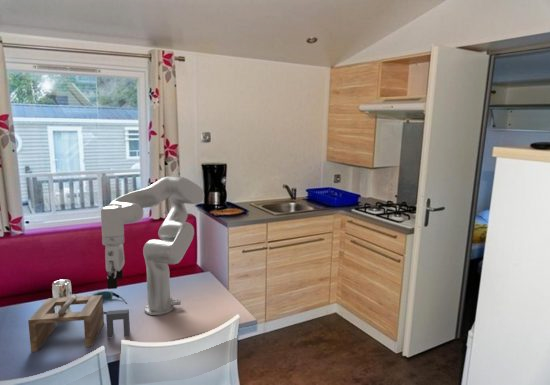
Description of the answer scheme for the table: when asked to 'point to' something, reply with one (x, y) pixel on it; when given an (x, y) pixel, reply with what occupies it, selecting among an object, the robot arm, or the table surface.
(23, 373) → the table surface
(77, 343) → the table surface
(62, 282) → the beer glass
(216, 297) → the table surface
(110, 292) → the sunglasses
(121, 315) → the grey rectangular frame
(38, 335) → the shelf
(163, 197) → the robot arm
